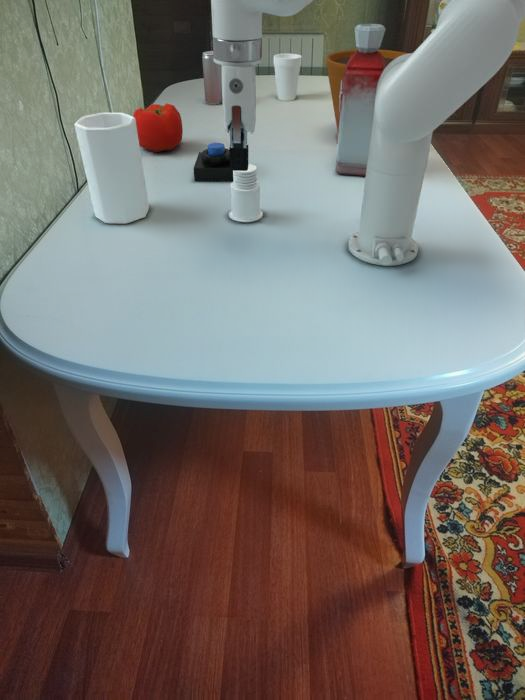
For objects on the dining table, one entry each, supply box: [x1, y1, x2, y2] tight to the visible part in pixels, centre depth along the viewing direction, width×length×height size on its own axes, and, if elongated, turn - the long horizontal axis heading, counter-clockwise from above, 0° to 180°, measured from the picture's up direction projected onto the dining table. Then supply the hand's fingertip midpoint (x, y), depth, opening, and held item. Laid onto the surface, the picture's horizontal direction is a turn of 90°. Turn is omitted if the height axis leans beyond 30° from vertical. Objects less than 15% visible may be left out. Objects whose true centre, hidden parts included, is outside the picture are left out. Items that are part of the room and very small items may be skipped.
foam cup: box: [272, 53, 303, 102], centre depth 174 cm, size 10×9×13 cm
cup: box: [74, 112, 150, 225], centre depth 100 cm, size 11×11×18 cm
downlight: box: [228, 163, 264, 223], centre depth 102 cm, size 8×7×10 cm
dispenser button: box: [207, 142, 226, 156], centre depth 120 cm, size 4×4×2 cm
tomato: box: [132, 102, 184, 153], centre depth 134 cm, size 14×13×10 cm
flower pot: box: [325, 48, 409, 133], centre depth 138 cm, size 24×24×20 cm
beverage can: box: [201, 50, 223, 106], centre depth 169 cm, size 6×6×15 cm
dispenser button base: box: [193, 147, 233, 183], centre depth 122 cm, size 11×10×5 cm
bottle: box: [335, 23, 386, 177], centre depth 117 cm, size 14×10×30 cm
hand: (239, 168), depth 90 cm, fingers closed
